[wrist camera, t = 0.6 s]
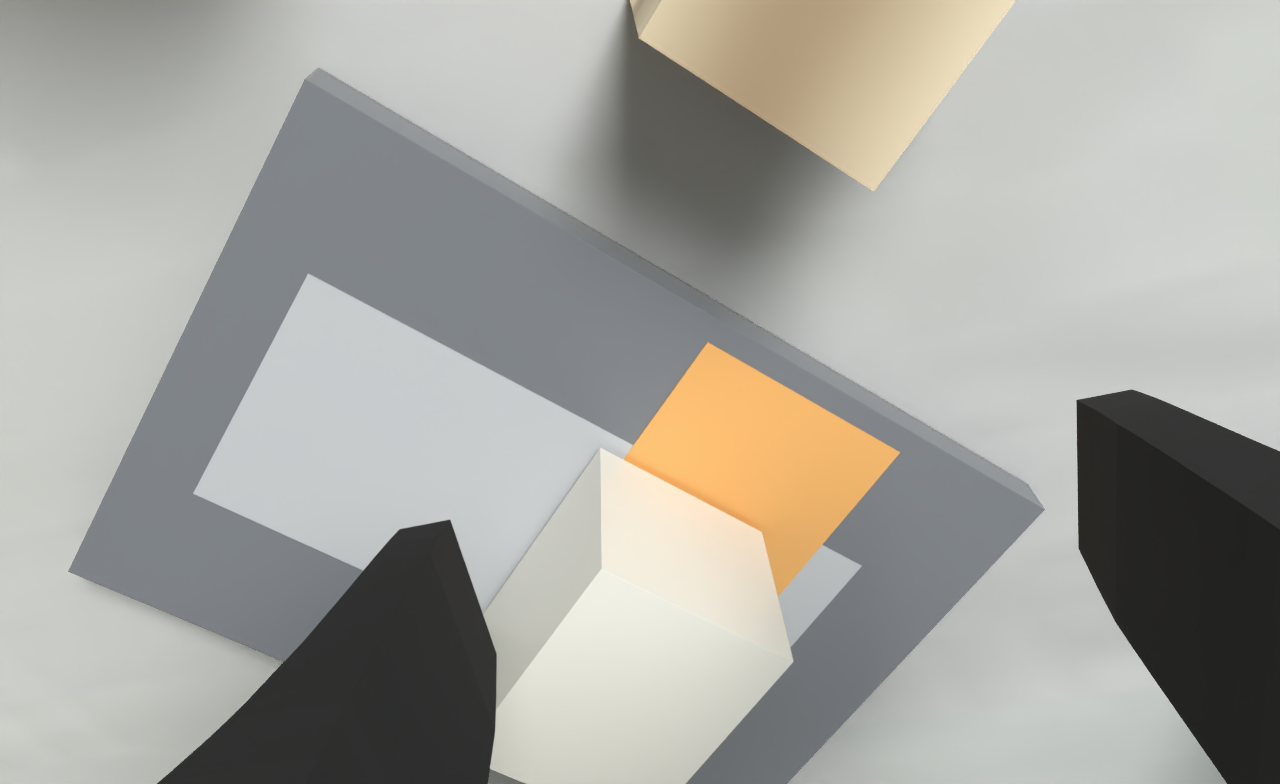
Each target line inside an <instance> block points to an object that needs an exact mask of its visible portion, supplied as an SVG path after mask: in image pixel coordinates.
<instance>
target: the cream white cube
mask: <svg viewBox="0 0 1280 784" xmlns="http://www.w3.org/2000/svg"><path fill="white" fill-rule="evenodd" d="M483 616H484V619H485V622H486V625H487V627H488V630H489V633H490V636H491V639H492V642H493V645H494V648H495V651H496V653H497V675H496V721H495V736H494V743H493V751H492V757H491V764H490V769H491V770H493V771H496V772H498V773H501V774H503V775H506V776H508V777H511V778H513V779H515V780H518V781H520V782H523V783H525V784H686V783H687V782H688V780H689V779H690V778H691V777H692V776H693V775H694V774H695V772H696V771H697V770H698V769H699V768H700V767H701V766H702V765H703V763H704V762H705V761H706V760H707V759H708V758H709V757H710V756H711V754H712V753H713V752H714V751H715V750H716V749H717V748H718V746H719V745H720V744H721V743H722V742H723V741H724V740H725V739H726V737H727V736H728V735H729V734H730V733H731V732H732V731H733V730H734V728H735V727H736V726H737V725H738V724H739V723H740V722H741V720H742V719H743V718H744V717H745V716H746V715H747V714H748V713H749V711H750V710H751V709H752V708H753V707H754V706H755V705H756V704H757V702H758V701H759V700H760V699H761V698H762V697H763V696H764V694H765V693H766V692H767V691H768V690H769V689H770V688H771V687H772V685H773V684H774V683H775V682H776V681H777V680H778V679H779V678H780V676H781V675H782V674H783V673H784V672H785V671H786V670H787V669H788V667H789V666H790V665H791V664H792V663H793V662H794V661H793V657H792V653H791V649H790V645H789V641H788V637H787V633H786V629H785V624H784V620H783V616H782V612H781V608H780V604H779V600H778V596H777V592H776V588H775V584H774V579H773V575H772V571H771V567H770V563H769V559H768V555H767V551H766V547H765V543H764V539H763V535H762V532H761V531H759V530H757V529H755V528H753V527H751V526H749V525H748V524H746V523H744V522H742V521H740V520H738V519H736V518H734V517H732V516H730V515H728V514H726V513H725V512H723V511H721V510H719V509H717V508H715V507H713V506H711V505H709V504H707V503H705V502H703V501H702V500H700V499H698V498H696V497H694V496H692V495H690V494H688V493H686V492H684V491H682V490H680V489H679V488H677V487H675V486H673V485H671V484H669V483H667V482H665V481H663V480H661V479H659V478H658V477H656V476H654V475H652V474H650V473H648V472H646V471H644V470H642V469H640V468H638V467H636V466H635V465H633V464H631V463H629V462H627V461H625V460H623V459H621V458H619V457H617V456H615V455H613V454H612V453H610V452H608V451H606V450H604V449H602V448H600V449H599V450H598V452H597V453H596V455H595V456H594V457H593V459H592V460H591V462H590V463H589V464H588V466H587V467H586V469H585V470H584V472H583V473H582V474H581V476H580V477H579V479H578V480H577V482H576V483H575V484H574V486H573V487H572V489H571V490H570V491H569V493H568V494H567V496H566V497H565V499H564V500H563V501H562V503H561V504H560V506H559V507H558V509H557V510H556V511H555V513H554V514H553V516H552V517H551V518H550V520H549V521H548V523H547V524H546V526H545V527H544V528H543V530H542V531H541V533H540V534H539V535H538V537H537V538H536V540H535V541H534V543H533V544H532V545H531V547H530V548H529V550H528V551H527V553H526V554H525V555H524V557H523V558H522V560H521V561H520V562H519V564H518V565H517V567H516V568H515V570H514V571H513V572H512V574H511V575H510V577H509V578H508V580H507V581H506V582H505V584H504V585H503V587H502V588H501V589H500V591H499V592H498V594H497V595H496V597H495V598H494V599H493V601H492V602H491V604H490V605H489V607H488V608H487V609H486V611H485V612H484V614H483Z"/></svg>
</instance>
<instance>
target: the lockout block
mask: <svg viewBox="0 0 1280 784" xmlns="http://www.w3.org/2000/svg"><path fill="white" fill-rule="evenodd" d="M1015 1H1016V0H630V3H631V7H632V11H633V16H634V20H635V24H636V28H637V33H638V37H639V39H641V40H642V41H644V42H645V43H647V44H649V45H650V46H652V47H653V48H655V49H656V50H658V51H659V52H661V53H662V54H664V55H665V56H667V57H668V58H670V59H671V60H673V61H675V62H676V63H678V64H679V65H681V66H682V67H684V68H685V69H687V70H688V71H690V72H691V73H693V74H694V75H696V76H697V77H699V78H700V79H702V80H704V81H705V82H707V83H708V84H710V85H711V86H713V87H714V88H716V89H717V90H719V91H720V92H722V93H723V94H725V95H726V96H728V97H730V98H731V99H733V100H734V101H736V102H737V103H739V104H740V105H742V106H743V107H745V108H746V109H748V110H749V111H751V112H752V113H754V114H756V115H757V116H759V117H760V118H762V119H763V120H765V121H766V122H768V123H769V124H771V125H772V126H774V127H775V128H777V129H778V130H780V131H781V132H783V133H785V134H786V135H788V136H789V137H791V138H792V139H794V140H795V141H797V142H798V143H800V144H801V145H803V146H804V147H806V148H807V149H809V150H811V151H812V152H814V153H815V154H817V155H818V156H820V157H821V158H823V159H824V160H826V161H827V162H829V163H830V164H832V165H833V166H835V167H836V168H838V169H840V170H841V171H843V172H844V173H846V174H847V175H849V176H850V177H852V178H853V179H855V180H856V181H858V182H859V183H861V184H862V185H864V186H866V187H867V188H869V189H870V190H872V191H873V192H874V191H875V189H876V188H877V187H878V185H879V184H880V183H881V181H882V180H883V179H884V177H885V176H886V175H887V173H888V172H889V171H890V169H891V168H892V167H893V165H894V164H895V163H896V161H897V160H898V158H899V157H900V156H901V154H902V153H903V152H904V150H905V149H906V148H907V146H908V145H909V144H910V142H911V141H912V140H913V138H914V137H915V136H916V134H917V133H918V132H919V130H920V129H921V128H922V126H923V125H924V123H925V122H926V121H927V119H928V118H929V117H930V115H931V114H932V113H933V111H934V110H935V109H936V107H937V106H938V105H939V103H940V102H941V101H942V99H943V98H944V97H945V95H946V94H947V93H948V91H949V90H950V89H951V87H952V86H953V84H954V83H955V82H956V80H957V79H958V78H959V76H960V75H961V74H962V72H963V71H964V70H965V68H966V67H967V66H968V64H969V63H970V62H971V60H972V59H973V58H974V56H975V55H976V54H977V52H978V51H979V49H980V48H981V47H982V45H983V44H984V43H985V41H986V40H987V39H988V37H989V36H990V35H991V33H992V32H993V31H994V29H995V28H996V27H997V25H998V24H999V23H1000V21H1001V20H1002V19H1003V17H1004V16H1005V14H1006V13H1007V12H1008V10H1009V9H1010V8H1011V6H1012V5H1013V4H1014V2H1015Z"/></svg>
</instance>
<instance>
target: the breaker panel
mask: <svg viewBox="0 0 1280 784" xmlns="http://www.w3.org/2000/svg"><path fill="white" fill-rule="evenodd" d="M600 448H602V449H604V450H606V451H608V452H610V453H612V454H613V455H615V456H617V457H619V458H621V459H623V460H625V461H627V462H629V463H631V464H633V465H635V466H636V467H638V468H640V469H642V470H644V471H646V472H648V473H650V474H652V475H654V476H656V477H658V478H659V479H661V480H663V481H665V482H667V483H669V484H671V485H673V486H675V487H677V488H679V489H680V490H682V491H684V492H686V493H688V494H690V495H692V496H694V497H696V498H698V499H700V500H702V501H703V502H705V503H707V504H709V505H711V506H713V507H715V508H717V509H719V510H721V511H723V512H725V513H726V514H728V515H730V516H732V517H734V518H736V519H738V520H740V521H742V522H744V523H746V524H748V525H749V526H751V527H753V528H755V529H757V530H759V531H761V532H762V535H763V539H764V543H765V547H766V551H767V555H768V559H769V563H770V567H771V571H772V575H773V579H774V584H775V588H776V592H777V596H778V600H779V604H780V608H781V612H782V616H783V620H784V624H785V629H786V633H787V637H788V641H789V645H790V649H791V653H792V657H793V661H794V662H793V663H792V664H791V665H790V666H789V667H788V669H787V670H786V671H785V672H784V673H783V674H782V675H781V676H780V678H779V679H778V680H777V681H776V682H775V683H774V684H773V685H772V687H771V688H770V689H769V690H768V691H767V692H766V693H765V694H764V696H763V697H762V698H761V699H760V700H759V701H758V702H757V704H756V705H755V706H754V707H753V708H752V709H751V710H750V711H749V713H748V714H747V715H746V716H745V717H744V718H743V719H742V720H741V722H740V723H739V724H738V725H737V726H736V727H735V728H734V730H733V731H732V732H731V733H730V734H729V735H728V736H727V737H726V739H725V740H724V741H723V742H722V743H721V744H720V745H719V746H718V748H717V749H716V750H715V751H714V752H713V753H712V754H711V756H710V757H709V758H708V759H707V760H706V761H705V762H704V763H703V765H702V766H701V767H700V768H699V769H698V770H697V771H696V772H695V774H694V775H693V776H692V777H691V778H690V779H689V780H688V782H687V783H686V784H787V783H788V782H789V781H790V780H791V779H792V777H793V776H794V775H795V774H796V773H797V772H798V771H799V770H800V769H801V768H802V767H803V766H804V765H805V764H806V763H807V762H808V760H809V759H810V758H811V757H812V756H813V755H814V754H815V753H816V752H817V751H818V750H819V749H820V748H821V747H822V746H823V745H824V743H825V742H826V741H827V740H828V739H829V738H830V737H831V736H832V735H833V734H834V733H835V732H836V731H837V730H838V729H839V728H840V726H841V725H842V724H843V723H844V722H845V721H846V720H847V719H848V718H849V717H850V716H851V715H852V714H853V713H854V712H855V711H856V709H857V708H858V707H859V706H860V705H861V704H862V703H863V702H864V701H865V700H866V699H867V698H868V697H869V696H870V695H871V694H872V692H873V691H874V690H875V689H876V688H877V687H878V686H879V685H880V684H881V683H882V682H883V681H884V680H885V679H886V678H887V677H888V675H889V674H890V673H891V672H892V671H893V670H894V669H895V668H896V667H897V666H898V665H899V664H900V663H901V662H902V661H903V660H904V659H905V657H906V656H907V655H908V654H909V653H910V652H911V651H912V650H913V649H914V648H915V647H916V646H917V645H918V644H919V643H920V642H921V640H922V639H923V638H924V637H925V636H926V635H927V634H928V633H929V632H930V631H931V630H932V629H933V628H934V627H935V626H936V625H937V623H938V622H939V621H940V620H941V619H942V618H943V617H944V616H945V615H946V614H947V613H948V612H949V611H950V610H951V609H952V608H953V606H954V605H955V604H956V603H957V602H958V601H959V600H960V599H961V598H962V597H963V596H964V595H965V594H966V593H967V592H968V591H969V589H970V588H971V587H972V586H973V585H974V584H975V583H976V582H977V581H978V580H979V579H980V578H981V577H982V576H983V575H984V574H985V572H986V571H987V570H988V569H989V568H990V567H991V566H992V565H993V564H994V563H995V562H996V561H997V560H998V559H999V558H1000V557H1001V555H1002V554H1003V553H1004V552H1005V551H1006V550H1007V549H1008V548H1009V547H1010V546H1011V545H1012V544H1013V543H1014V542H1015V541H1016V540H1017V538H1018V537H1019V536H1020V535H1021V534H1022V533H1023V532H1024V531H1025V530H1026V529H1027V528H1028V527H1029V526H1030V525H1031V524H1032V523H1033V521H1034V520H1035V519H1036V518H1037V517H1038V516H1039V515H1040V514H1041V513H1042V512H1043V511H1044V510H1045V509H1044V507H1043V506H1042V505H1041V503H1040V502H1039V500H1038V499H1037V497H1036V496H1035V494H1034V493H1033V491H1032V490H1031V488H1030V487H1029V485H1028V484H1026V483H1025V482H1023V481H1021V480H1020V479H1018V478H1016V477H1014V476H1013V475H1011V474H1009V473H1008V472H1006V471H1004V470H1003V469H1001V468H999V467H997V466H996V465H994V464H992V463H991V462H989V461H987V460H986V459H984V458H982V457H980V456H979V455H977V454H975V453H974V452H972V451H970V450H968V449H967V448H965V447H963V446H962V445H960V444H958V443H957V442H955V441H953V440H951V439H950V438H948V437H946V436H945V435H943V434H941V433H940V432H938V431H936V430H934V429H933V428H931V427H929V426H928V425H926V424H924V423H923V422H921V421H919V420H917V419H916V418H914V417H912V416H911V415H909V414H907V413H905V412H904V411H902V410H900V409H899V408H897V407H895V406H894V405H892V404H890V403H888V402H887V401H885V400H883V399H882V398H880V397H878V396H877V395H875V394H873V393H871V392H870V391H868V390H866V389H865V388H863V387H861V386H860V385H858V384H856V383H854V382H853V381H851V380H849V379H848V378H846V377H844V376H842V375H841V374H839V373H837V372H836V371H834V370H832V369H831V368H829V367H827V366H825V365H824V364H822V363H820V362H819V361H817V360H815V359H814V358H812V357H810V356H808V355H807V354H805V353H803V352H802V351H800V350H798V349H797V348H795V347H793V346H791V345H790V344H788V343H786V342H785V341H783V340H781V339H779V338H778V337H776V336H774V335H773V334H771V333H769V332H768V331H766V330H764V329H762V328H761V327H759V326H757V325H756V324H754V323H752V322H751V321H749V320H747V319H745V318H744V317H742V316H740V315H739V314H737V313H735V312H734V311H732V310H730V309H728V308H727V307H725V306H723V305H722V304H720V303H718V302H717V301H715V300H713V299H711V298H710V297H708V296H706V295H705V294H703V293H701V292H699V291H698V290H696V289H694V288H693V287H691V286H689V285H688V284H686V283H684V282H682V281H681V280H679V279H677V278H676V277H674V276H672V275H671V274H669V273H667V272H665V271H664V270H662V269H660V268H659V267H657V266H655V265H654V264H652V263H650V262H648V261H647V260H645V259H643V258H642V257H640V256H638V255H636V254H635V253H633V252H631V251H630V250H628V249H626V248H625V247H623V246H621V245H619V244H618V243H616V242H614V241H613V240H611V239H609V238H608V237H606V236H604V235H602V234H601V233H599V232H597V231H596V230H594V229H592V228H591V227H589V226H587V225H585V224H584V223H582V222H580V221H579V220H577V219H575V218H573V217H572V216H570V215H568V214H567V213H565V212H563V211H562V210H560V209H558V208H556V207H555V206H553V205H551V204H550V203H548V202H546V201H545V200H543V199H541V198H539V197H538V196H536V195H534V194H533V193H531V192H529V191H528V190H526V189H524V188H522V187H521V186H519V185H517V184H516V183H514V182H512V181H510V180H509V179H507V178H505V177H504V176H502V175H500V174H499V173H497V172H495V171H493V170H492V169H490V168H488V167H487V166H485V165H483V164H482V163H480V162H478V161H476V160H475V159H473V158H471V157H470V156H468V155H466V154H465V153H463V152H461V151H459V150H458V149H456V148H454V147H453V146H451V145H449V144H447V143H446V142H444V141H442V140H441V139H439V138H437V137H436V136H434V135H432V134H430V133H429V132H427V131H425V130H424V129H422V128H420V127H419V126H417V125H415V124H413V123H412V122H410V121H408V120H407V119H405V118H403V117H402V116H400V115H398V114H396V113H395V112H393V111H391V110H390V109H388V108H386V107H384V106H383V105H381V104H379V103H378V102H376V101H374V100H373V99H371V98H369V97H367V96H366V95H364V94H362V93H361V92H359V91H357V90H356V89H354V88H352V87H350V86H349V85H347V84H345V83H344V82H342V81H340V80H339V79H337V78H335V77H333V76H332V75H330V74H328V73H327V72H325V71H323V70H321V69H320V68H318V69H317V70H315V71H314V72H313V73H312V74H311V75H309V76H308V77H307V78H306V79H305V80H304V82H303V84H302V86H301V88H300V91H299V93H298V95H297V97H296V99H295V101H294V103H293V105H292V107H291V109H290V111H289V113H288V116H287V118H286V120H285V122H284V124H283V126H282V128H281V130H280V132H279V134H278V136H277V138H276V140H275V143H274V145H273V147H272V149H271V151H270V153H269V155H268V157H267V159H266V161H265V163H264V165H263V168H262V170H261V172H260V174H259V176H258V178H257V180H256V182H255V184H254V186H253V188H252V190H251V192H250V195H249V197H248V199H247V201H246V203H245V205H244V207H243V209H242V211H241V213H240V215H239V217H238V220H237V222H236V224H235V226H234V228H233V230H232V232H231V234H230V236H229V238H228V240H227V242H226V244H225V247H224V249H223V251H222V253H221V255H220V257H219V259H218V261H217V263H216V265H215V267H214V269H213V271H212V274H211V276H210V278H209V280H208V282H207V284H206V286H205V288H204V290H203V292H202V294H201V296H200V299H199V301H198V303H197V305H196V307H195V309H194V311H193V313H192V315H191V317H190V319H189V321H188V323H187V326H186V328H185V330H184V332H183V334H182V336H181V338H180V340H179V342H178V344H177V346H176V348H175V351H174V353H173V355H172V357H171V359H170V361H169V363H168V365H167V367H166V369H165V371H164V373H163V375H162V378H161V380H160V382H159V384H158V386H157V388H156V390H155V392H154V394H153V396H152V398H151V400H150V403H149V405H148V407H147V409H146V411H145V413H144V415H143V417H142V419H141V421H140V423H139V425H138V427H137V430H136V432H135V434H134V436H133V438H132V440H131V442H130V444H129V446H128V448H127V450H126V452H125V455H124V457H123V459H122V461H121V463H120V465H119V467H118V469H117V471H116V473H115V475H114V477H113V479H112V482H111V484H110V486H109V488H108V490H107V492H106V494H105V496H104V498H103V500H102V502H101V504H100V506H99V509H98V511H97V513H96V515H95V517H94V519H93V521H92V523H91V525H90V527H89V529H88V531H87V534H86V536H85V538H84V540H83V542H82V544H81V546H80V548H79V550H78V552H77V554H76V556H75V558H74V561H73V563H72V565H71V567H70V569H69V571H68V572H71V573H73V574H75V575H78V576H80V577H83V578H85V579H87V580H90V581H92V582H95V583H97V584H99V585H102V586H104V587H107V588H109V589H111V590H114V591H116V592H119V593H121V594H123V595H126V596H128V597H131V598H133V599H135V600H138V601H140V602H143V603H145V604H147V605H150V606H152V607H155V608H157V609H159V610H162V611H164V612H167V613H169V614H171V615H174V616H176V617H179V618H181V619H183V620H186V621H188V622H191V623H193V624H195V625H198V626H200V627H203V628H205V629H207V630H210V631H212V632H215V633H217V634H219V635H222V636H224V637H227V638H229V639H231V640H234V641H236V642H239V643H241V644H243V645H246V646H248V647H250V648H253V649H255V650H258V651H260V652H262V653H265V654H267V655H270V656H272V657H274V658H277V659H279V660H282V661H285V660H286V659H287V658H288V657H289V656H290V655H291V654H292V653H293V652H294V651H295V650H296V649H297V648H298V647H299V645H300V644H301V643H302V642H303V641H304V640H305V639H306V638H307V637H308V635H309V634H310V633H311V632H312V631H313V630H314V628H315V627H316V626H317V625H318V624H319V623H320V621H321V620H322V619H323V618H324V617H325V615H326V614H327V613H328V612H329V611H330V610H331V608H332V607H333V606H334V605H335V604H336V603H337V601H338V600H339V599H340V598H341V597H342V596H343V594H344V593H345V592H346V591H347V590H348V588H349V587H350V586H351V585H352V584H353V582H354V581H355V580H356V579H357V578H358V576H359V575H360V574H361V573H362V572H363V570H364V569H365V568H366V567H367V566H368V564H369V563H370V562H371V561H372V560H373V558H374V557H375V556H376V555H377V554H378V553H379V551H380V550H381V549H382V548H383V547H384V546H385V544H386V543H387V542H388V541H389V540H390V539H391V538H392V537H393V536H394V535H395V534H396V532H397V531H398V530H399V529H403V528H408V527H414V526H419V525H424V524H429V523H435V522H440V521H445V520H451V523H452V526H453V529H454V532H455V535H456V538H457V541H458V544H459V547H460V549H461V552H462V555H463V558H464V561H465V564H466V567H467V570H468V573H469V575H470V578H471V581H472V584H473V587H474V590H475V593H476V596H477V599H478V601H479V604H480V607H481V610H482V613H483V614H484V612H485V611H486V609H487V608H488V607H489V605H490V604H491V602H492V601H493V599H494V598H495V597H496V595H497V594H498V592H499V591H500V589H501V588H502V587H503V585H504V584H505V582H506V581H507V580H508V578H509V577H510V575H511V574H512V572H513V571H514V570H515V568H516V567H517V565H518V564H519V562H520V561H521V560H522V558H523V557H524V555H525V554H526V553H527V551H528V550H529V548H530V547H531V545H532V544H533V543H534V541H535V540H536V538H537V537H538V535H539V534H540V533H541V531H542V530H543V528H544V527H545V526H546V524H547V523H548V521H549V520H550V518H551V517H552V516H553V514H554V513H555V511H556V510H557V509H558V507H559V506H560V504H561V503H562V501H563V500H564V499H565V497H566V496H567V494H568V493H569V491H570V490H571V489H572V487H573V486H574V484H575V483H576V482H577V480H578V479H579V477H580V476H581V474H582V473H583V472H584V470H585V469H586V467H587V466H588V464H589V463H590V462H591V460H592V459H593V457H594V456H595V455H596V453H597V452H598V450H599V449H600Z"/></svg>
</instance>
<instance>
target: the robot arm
mask: <svg viewBox="0 0 1280 784" xmlns="http://www.w3.org/2000/svg"><path fill="white" fill-rule="evenodd" d="M1077 462H1078V534H1079V550H1080V552H1081V554H1082V556H1083V558H1084V560H1085V562H1086V564H1087V566H1088V569H1089V571H1090V573H1091V575H1092V577H1093V579H1094V581H1095V583H1096V585H1097V587H1098V589H1099V591H1100V593H1101V595H1102V597H1103V599H1104V601H1105V603H1106V605H1107V606H1108V608H1109V610H1110V612H1111V614H1112V616H1113V618H1114V620H1115V622H1116V623H1117V625H1118V626H1119V628H1120V629H1121V631H1122V632H1123V634H1124V635H1125V637H1126V638H1127V640H1128V641H1129V643H1130V644H1131V646H1132V647H1133V649H1134V650H1135V652H1136V653H1137V654H1138V656H1139V657H1140V659H1141V660H1142V662H1143V663H1144V665H1145V666H1146V668H1147V669H1148V671H1149V672H1150V673H1151V675H1152V676H1153V678H1154V679H1155V681H1156V682H1157V684H1158V685H1159V686H1160V688H1161V689H1162V691H1163V692H1164V694H1165V695H1166V696H1167V698H1168V699H1169V701H1170V702H1171V704H1172V705H1173V706H1174V708H1175V709H1176V711H1177V712H1178V714H1179V715H1180V717H1181V718H1182V719H1183V721H1184V722H1185V724H1186V725H1187V727H1188V728H1189V729H1190V731H1191V732H1192V734H1193V735H1194V737H1195V738H1196V739H1197V741H1198V742H1199V744H1200V745H1201V747H1202V748H1203V749H1204V751H1205V752H1206V754H1207V755H1208V757H1209V758H1210V760H1211V761H1212V762H1213V764H1214V765H1215V767H1216V768H1217V770H1218V771H1219V772H1220V774H1221V775H1222V777H1223V778H1224V780H1225V781H1226V782H1227V784H1280V451H1277V450H1275V449H1273V448H1270V447H1268V446H1266V445H1263V444H1261V443H1259V442H1256V441H1254V440H1252V439H1249V438H1247V437H1245V436H1242V435H1240V434H1238V433H1235V432H1233V431H1231V430H1229V429H1226V428H1224V427H1222V426H1220V425H1217V424H1215V423H1213V422H1210V421H1208V420H1206V419H1204V418H1201V417H1199V416H1197V415H1194V414H1192V413H1190V412H1188V411H1185V410H1183V409H1181V408H1178V407H1176V406H1174V405H1171V404H1169V403H1166V402H1164V401H1162V400H1159V399H1157V398H1154V397H1152V396H1149V395H1146V394H1143V393H1141V392H1138V391H1135V390H1127V391H1122V392H1117V393H1112V394H1106V395H1101V396H1096V397H1091V398H1085V399H1080V400H1077ZM496 675H497V653H496V651H495V648H494V645H493V642H492V639H491V636H490V633H489V630H488V627H487V625H486V622H485V619H484V616H483V613H482V610H481V607H480V604H479V601H478V599H477V596H476V593H475V590H474V587H473V584H472V581H471V578H470V575H469V573H468V570H467V567H466V564H465V561H464V558H463V555H462V552H461V549H460V547H459V544H458V541H457V538H456V535H455V532H454V529H453V526H452V523H451V520H445V521H440V522H435V523H429V524H424V525H419V526H414V527H408V528H403V529H399V530H398V531H397V532H396V534H395V535H394V536H393V537H392V538H391V539H390V540H389V541H388V542H387V543H386V544H385V546H384V547H383V548H382V549H381V550H380V551H379V553H378V554H377V555H376V556H375V557H374V558H373V560H372V561H371V562H370V563H369V564H368V566H367V567H366V568H365V569H364V570H363V572H362V573H361V574H360V575H359V576H358V578H357V579H356V580H355V581H354V582H353V584H352V585H351V586H350V587H349V588H348V590H347V591H346V592H345V593H344V594H343V596H342V597H341V598H340V599H339V600H338V601H337V603H336V604H335V605H334V606H333V607H332V608H331V610H330V611H329V612H328V613H327V614H326V615H325V617H324V618H323V619H322V620H321V621H320V623H319V624H318V625H317V626H316V627H315V628H314V630H313V631H312V632H311V633H310V634H309V635H308V637H307V638H306V639H305V640H304V641H303V642H302V643H301V644H300V645H299V647H298V648H297V649H296V650H295V651H294V652H293V653H292V654H291V655H290V656H289V657H288V658H287V659H286V660H285V661H284V662H283V664H282V665H281V666H280V667H279V668H278V669H277V670H276V671H275V672H274V673H273V674H272V675H271V676H270V677H269V678H268V680H267V681H266V682H265V683H264V684H263V685H262V686H261V687H260V688H259V689H258V690H257V691H256V692H255V693H254V694H253V695H252V697H251V698H250V699H249V700H248V701H247V702H246V703H245V704H244V705H243V706H242V707H241V708H240V709H239V710H238V711H237V712H236V713H235V714H234V715H233V716H232V717H231V718H230V719H229V720H228V721H227V722H225V723H224V724H223V725H222V726H221V727H220V728H219V729H218V730H217V731H216V732H215V733H214V734H213V735H212V736H211V737H210V738H208V739H207V740H206V741H205V742H204V743H203V744H202V745H201V746H200V747H198V748H197V749H196V750H195V751H194V752H193V753H192V754H191V755H189V756H188V757H187V758H186V759H185V760H184V761H183V762H182V763H180V764H179V765H178V766H177V767H176V768H175V769H174V770H173V771H171V772H170V773H169V774H168V775H167V776H166V777H164V778H163V779H162V780H161V781H160V782H158V783H157V784H487V783H488V777H489V770H490V764H491V757H492V751H493V743H494V736H495V721H496Z"/></svg>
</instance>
